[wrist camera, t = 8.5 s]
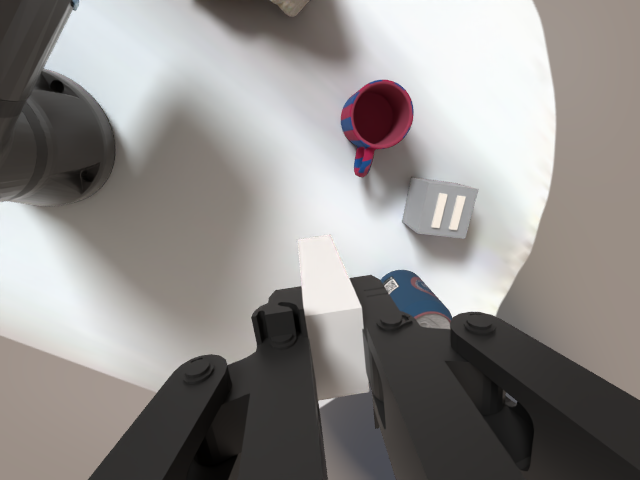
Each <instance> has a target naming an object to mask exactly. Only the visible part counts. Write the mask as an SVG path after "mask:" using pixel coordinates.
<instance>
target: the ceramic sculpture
mask: <svg viewBox="0 0 640 480" xmlns="http://www.w3.org/2000/svg"><path fill="white" fill-rule="evenodd" d="M270 1H271V2H273V3H274V4H277V5H278V6H279V7H280V9H281V10H283V11H284V13H285V14H287V15H288V16H291V17H293V16H296V15H297V14H298V13H299V12H300V11H301V10H302V9H303V7H304V6H305V5H306V4H307V3H308V2H309V1H310V0H270Z"/></svg>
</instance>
